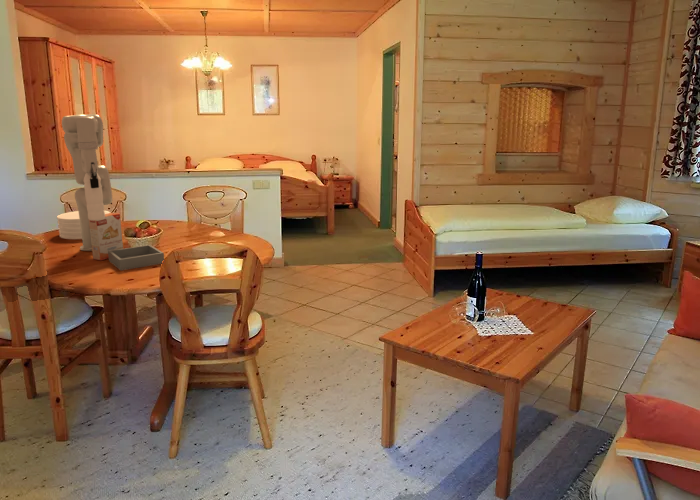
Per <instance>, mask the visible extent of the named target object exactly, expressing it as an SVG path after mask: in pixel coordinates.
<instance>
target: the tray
mask: <svg viewBox="0 0 700 500" xmlns="http://www.w3.org/2000/svg"><path fill="white" fill-rule="evenodd" d="M108 256H109V258H108V261H109V263H111V264H112V265H113V266H115V267H116V268H117V269H118V270H119V271H125V270H132V269H136V268H137V269H138V268H144V267H149V266H157V265H161V263H162V261H163V260H164V261H165V254H164V252H163V251H161V250H160V249H158V248H156V247H155V246H153V245H151V244H146V245H138V246H133V247H125V248H124V247H123V249H117V250H111V251H108ZM162 264H163V263H162Z"/></svg>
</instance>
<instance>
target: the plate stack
mask: <svg viewBox="0 0 700 500" xmlns="http://www.w3.org/2000/svg"><path fill="white" fill-rule="evenodd" d="M104 212H105V214H108V213H111V211H109V210H106V209H104ZM56 219H57V224H58V225H57V227H58V233H59V238H61V239H66V240H82V234H81V226H80V218H79V212H78V210H76V211H75V210H74V211H68V212H63V213H61V214H58V215H57V216H56Z"/></svg>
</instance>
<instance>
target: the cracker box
mask: <svg viewBox="0 0 700 500" xmlns="http://www.w3.org/2000/svg"><path fill="white" fill-rule="evenodd" d="M89 226H90V235H91V244H92V251H91V252H92V259H93V260H97V261H104V260H107V259H108V260H109V256H108V251H111V250H117V249H124V244H123V234H122V233H123V232H122V222H121V213H119V212H118V213H117V212H110V213H108V214H105V218H104V219H102V220H89Z"/></svg>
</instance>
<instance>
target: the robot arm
mask: <svg viewBox="0 0 700 500" xmlns="http://www.w3.org/2000/svg"><path fill="white" fill-rule="evenodd" d="M61 127H62V130H63V132H64V134H63V140H64V144H65V146H66V149H67V151H68V152H69V154H70V156H71V158H72V164H73V172H74V177H75V181H76V183H77V184H78V185H80V186H83V185H84V181H83V180H84V177H85V174H86V173H88V172H89V173H90V178H91V179H90V184H91V188H99V183H98V176H99V177H100V179H101V187H102V194H103V204H104V206H107V205H111V204H112V203H113V192H112V186H111V185H112V184H111V178H110V173H109V172H110V171H109V169H108V167H107V166H106V165H101V164H98V156H97V151H96V150H98V149H99V148H100V147H102V146H103V143H104V122H103V119H102V117H101V116H100V115H98V114H93V113H92V114H73V115H64V116H62V119H61ZM91 171H93V172H91ZM97 173H98V176H97ZM74 199H75V203H76V207H77V211H78V212H79V218H80V226H81V234H82V239H81V240H82V245H81V246H79V250H81V251H83V252H84V251H85V252H92V244H91V235H90V226H89V219H88V210H87V202H86V196H85V187H81V188H78V189H76V190H75V192H74Z"/></svg>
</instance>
